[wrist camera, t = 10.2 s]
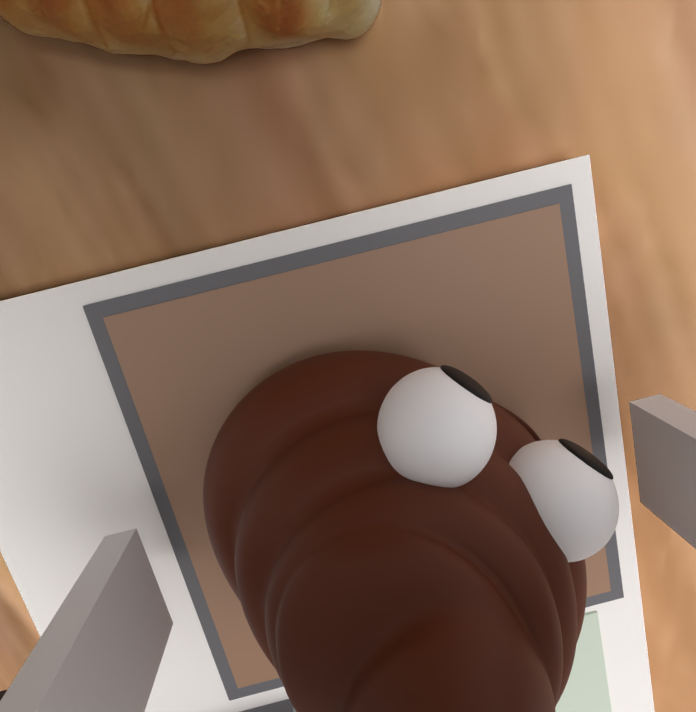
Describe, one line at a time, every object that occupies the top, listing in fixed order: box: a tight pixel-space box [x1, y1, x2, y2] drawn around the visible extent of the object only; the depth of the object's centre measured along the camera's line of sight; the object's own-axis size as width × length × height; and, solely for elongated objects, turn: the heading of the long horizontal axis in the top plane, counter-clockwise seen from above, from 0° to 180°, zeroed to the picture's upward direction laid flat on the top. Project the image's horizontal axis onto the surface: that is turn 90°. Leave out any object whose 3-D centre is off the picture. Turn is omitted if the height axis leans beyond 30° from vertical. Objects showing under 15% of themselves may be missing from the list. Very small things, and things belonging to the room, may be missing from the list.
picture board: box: [0, 155, 654, 712], centre depth 16 cm, size 20×18×4 cm
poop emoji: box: [203, 350, 619, 712], centre depth 11 cm, size 10×8×9 cm
